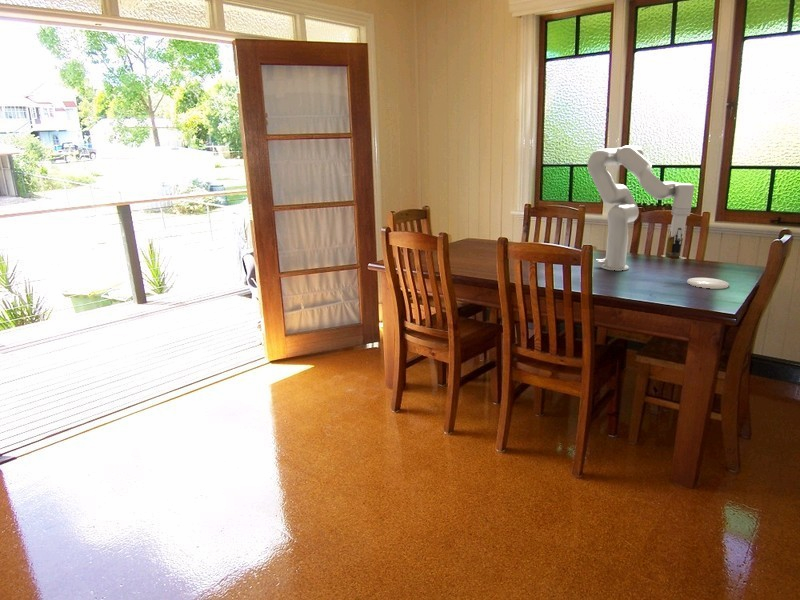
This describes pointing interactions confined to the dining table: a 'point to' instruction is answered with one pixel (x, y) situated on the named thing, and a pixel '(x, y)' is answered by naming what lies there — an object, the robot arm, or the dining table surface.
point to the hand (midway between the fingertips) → (674, 250)
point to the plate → (708, 283)
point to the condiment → (669, 249)
